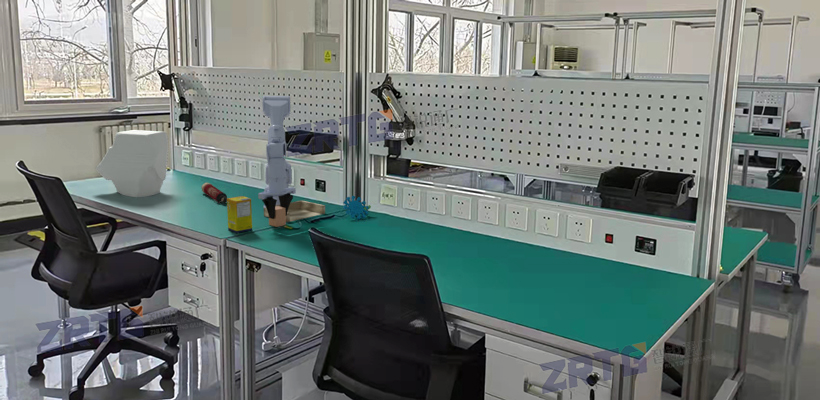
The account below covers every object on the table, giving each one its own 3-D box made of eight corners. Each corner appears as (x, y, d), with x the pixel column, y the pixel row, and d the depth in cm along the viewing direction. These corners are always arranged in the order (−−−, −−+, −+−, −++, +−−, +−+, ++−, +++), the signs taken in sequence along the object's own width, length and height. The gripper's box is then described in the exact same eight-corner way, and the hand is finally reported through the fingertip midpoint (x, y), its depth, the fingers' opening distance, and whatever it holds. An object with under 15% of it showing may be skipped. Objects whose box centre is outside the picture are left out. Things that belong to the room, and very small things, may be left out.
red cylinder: (233, 196, 251) (212, 183, 275) (221, 193, 248) (201, 179, 273) (228, 208, 251) (208, 193, 276) (217, 204, 248) (197, 190, 273)
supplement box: (243, 227, 218) (242, 195, 215) (252, 230, 213) (251, 198, 211) (227, 230, 213) (226, 198, 211) (236, 233, 209) (235, 200, 207)
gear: (347, 217, 228) (341, 193, 233) (341, 225, 232) (335, 203, 237) (374, 218, 234) (368, 195, 239) (368, 226, 238) (362, 204, 243)
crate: (263, 217, 232) (263, 207, 231) (301, 209, 246) (301, 200, 245) (287, 223, 224) (287, 213, 223) (325, 214, 238) (325, 205, 237)
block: (269, 225, 219) (268, 207, 218) (278, 222, 222) (277, 206, 221) (276, 227, 217) (276, 209, 216) (285, 224, 220) (285, 207, 219)
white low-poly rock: (144, 199, 257) (140, 135, 252) (95, 193, 268) (90, 131, 262) (182, 190, 276) (179, 131, 271) (135, 184, 287) (131, 127, 281)
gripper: (267, 182, 208) (268, 222, 211) (301, 176, 219) (301, 215, 222) (253, 179, 212) (255, 219, 215) (287, 174, 223) (288, 212, 226)
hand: (278, 216), depth 219 cm, fingers open, 5 cm apart
